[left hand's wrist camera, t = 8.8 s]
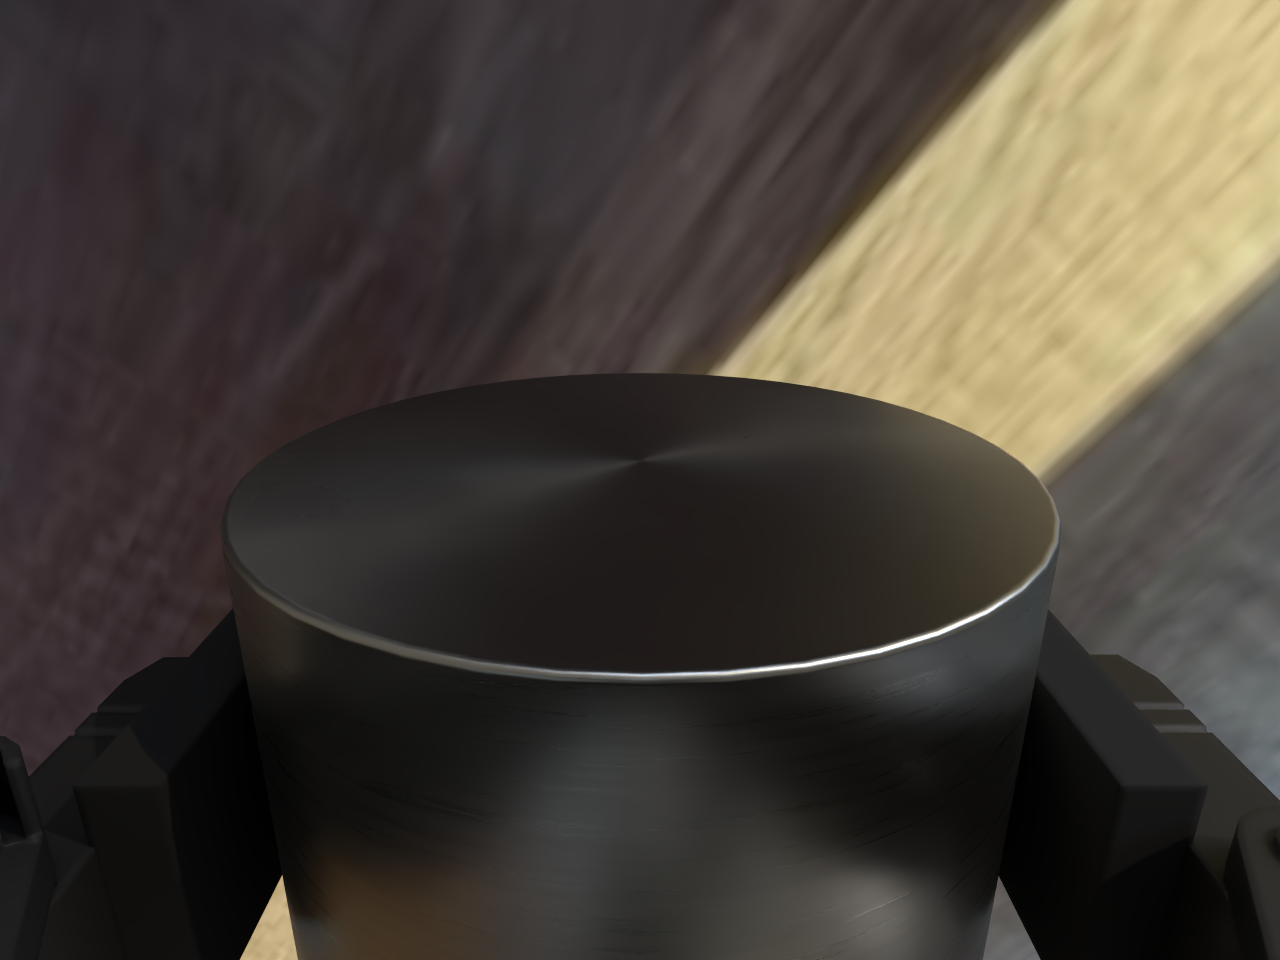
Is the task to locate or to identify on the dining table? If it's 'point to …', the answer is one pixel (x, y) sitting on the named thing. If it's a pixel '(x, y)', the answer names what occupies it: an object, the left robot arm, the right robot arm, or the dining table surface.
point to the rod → (640, 671)
